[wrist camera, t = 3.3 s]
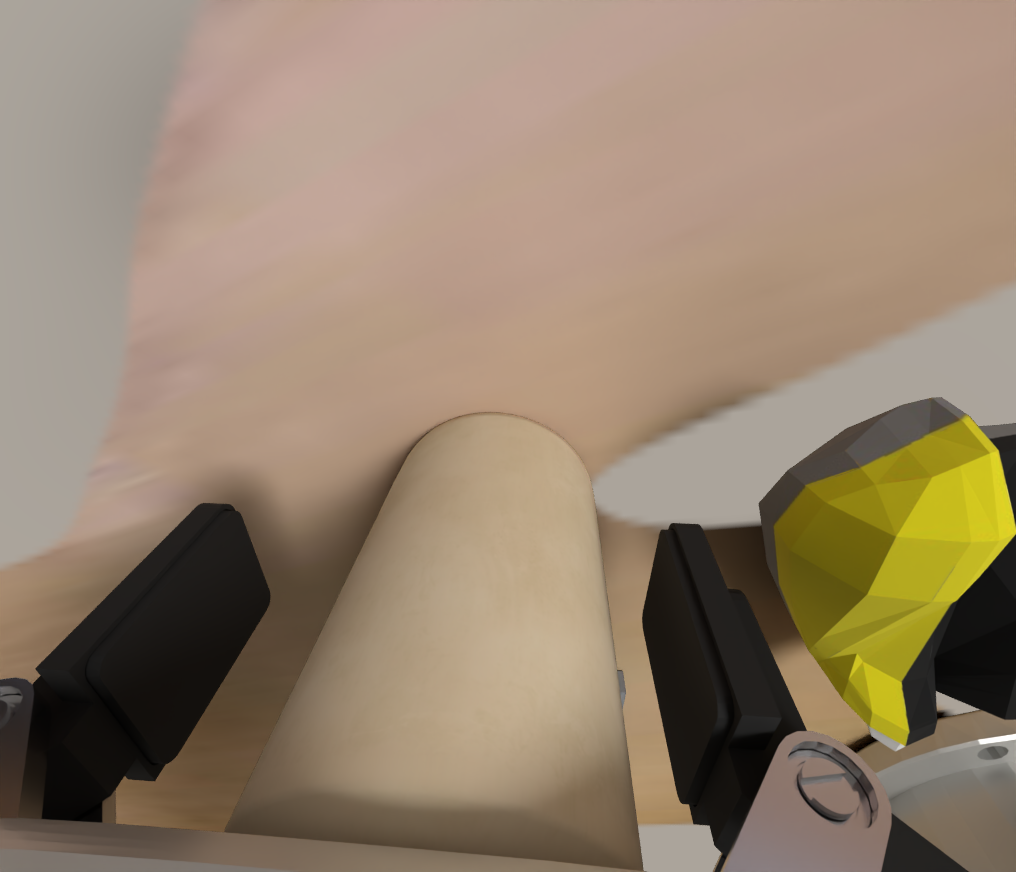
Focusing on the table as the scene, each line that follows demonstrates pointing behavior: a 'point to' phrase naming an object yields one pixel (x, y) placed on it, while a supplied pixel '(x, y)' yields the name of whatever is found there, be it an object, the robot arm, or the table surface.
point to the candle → (463, 669)
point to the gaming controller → (903, 564)
